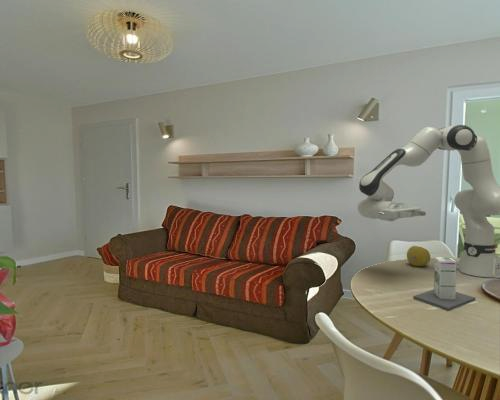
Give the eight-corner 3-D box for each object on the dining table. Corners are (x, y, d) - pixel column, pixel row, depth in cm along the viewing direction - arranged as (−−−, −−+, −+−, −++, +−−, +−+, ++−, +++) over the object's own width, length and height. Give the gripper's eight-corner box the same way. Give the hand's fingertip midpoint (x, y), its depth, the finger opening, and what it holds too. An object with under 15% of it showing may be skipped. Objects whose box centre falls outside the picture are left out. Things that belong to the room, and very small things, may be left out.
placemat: (440, 289, 135) (440, 287, 135) (475, 300, 124) (475, 297, 124) (413, 298, 126) (413, 296, 126) (448, 310, 115) (448, 308, 115)
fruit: (429, 269, 162) (430, 249, 161) (405, 266, 168) (405, 247, 167) (430, 264, 171) (431, 245, 170) (407, 261, 177) (408, 243, 176)
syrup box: (455, 300, 121) (457, 261, 120) (438, 299, 122) (439, 260, 121) (449, 294, 127) (451, 257, 126) (432, 293, 128) (434, 256, 127)
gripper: (374, 205, 144) (402, 208, 133) (403, 203, 155) (432, 205, 143) (373, 220, 145) (402, 224, 133) (403, 216, 155) (432, 220, 144)
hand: (418, 214), depth 138 cm, fingers open, 8 cm apart
